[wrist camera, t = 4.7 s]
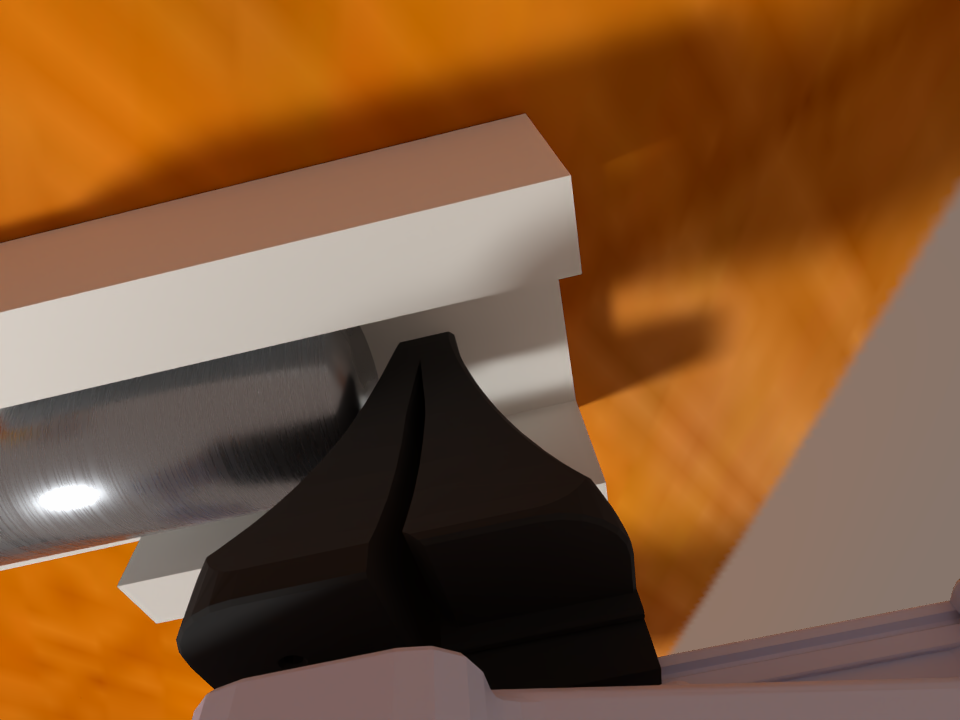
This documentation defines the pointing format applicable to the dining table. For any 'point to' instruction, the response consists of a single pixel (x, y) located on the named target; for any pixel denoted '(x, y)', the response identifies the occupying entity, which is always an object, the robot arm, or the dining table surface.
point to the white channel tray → (312, 294)
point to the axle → (175, 445)
